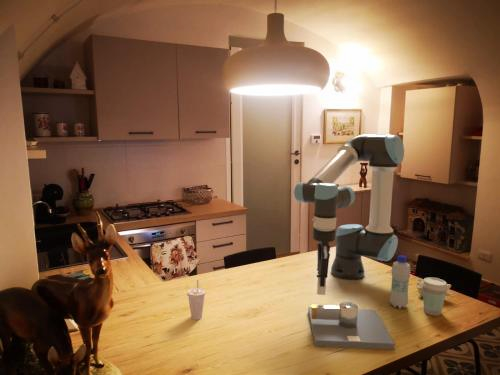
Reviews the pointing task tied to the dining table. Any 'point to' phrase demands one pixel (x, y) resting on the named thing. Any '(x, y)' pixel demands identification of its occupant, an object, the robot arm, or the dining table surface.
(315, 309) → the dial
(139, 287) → the dining table surface
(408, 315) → the dining table surface
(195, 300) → the smoothie
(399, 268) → the bottle
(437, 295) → the coffee cup
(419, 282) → the cat figurine
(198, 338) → the dining table surface
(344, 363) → the dining table surface
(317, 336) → the grey base plate
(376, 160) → the robot arm
